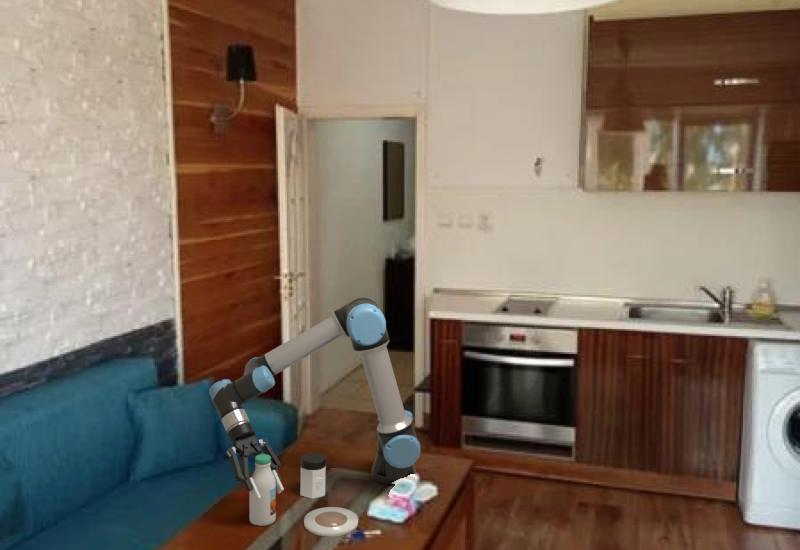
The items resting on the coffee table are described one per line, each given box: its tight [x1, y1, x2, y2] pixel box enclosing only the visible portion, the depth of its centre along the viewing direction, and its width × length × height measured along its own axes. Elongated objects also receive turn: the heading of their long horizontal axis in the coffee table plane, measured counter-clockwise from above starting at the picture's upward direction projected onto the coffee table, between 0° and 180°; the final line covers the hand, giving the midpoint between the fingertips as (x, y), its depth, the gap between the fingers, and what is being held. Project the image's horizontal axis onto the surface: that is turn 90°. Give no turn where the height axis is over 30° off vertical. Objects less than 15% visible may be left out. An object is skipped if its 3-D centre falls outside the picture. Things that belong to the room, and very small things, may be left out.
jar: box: [299, 452, 327, 500], centre depth 246 cm, size 9×8×12 cm
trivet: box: [303, 506, 359, 538], centre depth 227 cm, size 16×16×1 cm
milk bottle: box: [248, 453, 277, 527], centre depth 226 cm, size 8×8×20 cm
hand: (269, 495), depth 223 cm, fingers closed on milk bottle, 7 cm apart
